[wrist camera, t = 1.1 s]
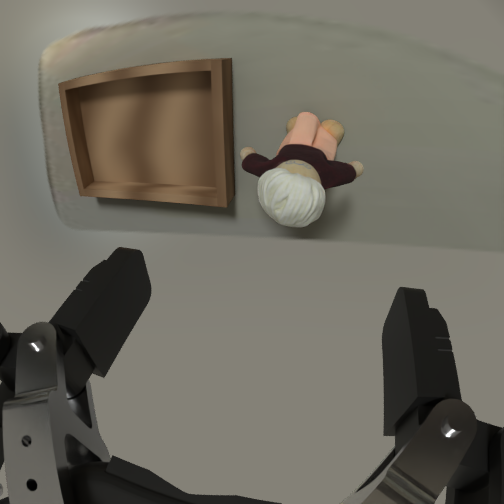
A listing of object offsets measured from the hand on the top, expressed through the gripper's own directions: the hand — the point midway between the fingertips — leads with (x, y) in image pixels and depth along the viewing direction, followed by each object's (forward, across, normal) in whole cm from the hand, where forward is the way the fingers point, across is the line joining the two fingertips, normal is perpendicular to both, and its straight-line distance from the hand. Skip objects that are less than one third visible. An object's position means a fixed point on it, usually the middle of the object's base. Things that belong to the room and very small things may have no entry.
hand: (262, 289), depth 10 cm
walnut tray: (+18, +14, 0) cm, 23 cm away
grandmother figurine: (+18, 0, 0) cm, 18 cm away
